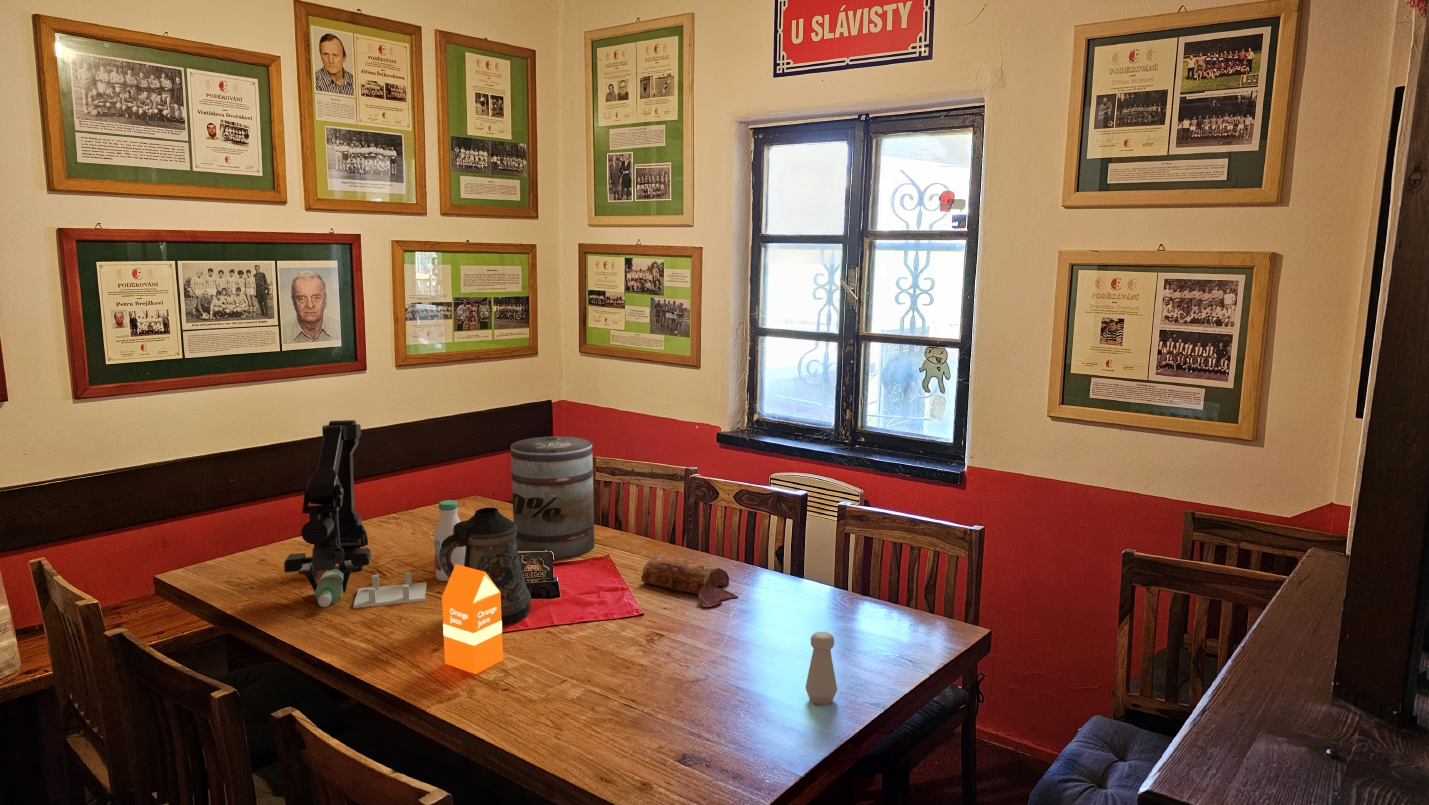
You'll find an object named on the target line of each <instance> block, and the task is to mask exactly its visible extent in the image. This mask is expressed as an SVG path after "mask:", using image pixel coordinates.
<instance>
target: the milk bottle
mask: <svg viewBox="0 0 1429 805" xmlns="http://www.w3.org/2000/svg"><path fill="white" fill-rule="evenodd" d="M458 510H459V509H458V501H457V500H452V499H448V500H442V501H439V503H438V511H439V517H438V521H437V523H436V526H435V528H434V529H435V530H434V536H433V538H434V541H433V543H434V561H435V562H434V566H435V577H436V579H437V580H438V581H441V582H448V581H449V579H450V578H449V577H448V576H447V575H446V574H445V572H444V571H443V569H442V567H441V565H440V560H439V552H440V548H441V544H442V542H443V541H444V540H445V539H446V538H447V537H448V536H451V535H453V528H454V525H456V524H457V523H459V522H462V521H461V520H460V518H459V515H458ZM465 552H466V546H464V547H456V548H455V549H454V550H453V551H452V554H451V558H450V559H451V563H452V564H453V566H454V567H455V565H456V564H457V565H461V566H464V561H465Z"/></svg>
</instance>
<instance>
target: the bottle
mask: <svg viewBox="0 0 1429 805" xmlns="http://www.w3.org/2000/svg"><path fill="white" fill-rule="evenodd" d="M343 574H344V572H341V571H339V570H336V568H335V569H334V570H331V571H328V570H325V572H324V573H323V574H322V575H321V576H320V579H319V581H318V586H317V588H316V591H315V592H314V596H315V598H316V600H317V603H318V605H319V607H322V608H326V607H329V606H330V605H332V604H335V603H336V602H338V600H339V599H340V596H341V594H342V593H343Z"/></svg>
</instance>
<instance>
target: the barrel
mask: <svg viewBox="0 0 1429 805" xmlns="http://www.w3.org/2000/svg"><path fill="white" fill-rule="evenodd" d="M593 459H594V458H593V442H592V441H591V440H589V439H587V438H582V437H576V436H574V437H573V436H541V437H540V436H539V437H531V438H524V439H522V440H521V439H520V440H518V441H515V442H512V444H510V463H511V468H510V469H511V488H512V518H513V520H512V521H513V522H514V523H515V524H516V525H517V528H518V529H517V535H516V537H515V540H516V545H517V550H518V551H545V550H547V551H552V552H553V553H554V559H555V560H554V561H561V560H563V561H564V560H568V559H573V557H574V558H578V557H582V556H584V555H586V554H588V553H590V552H591V551H592V550H593V549H594V548H595V521H594V520H595V518H594V517H595V515H594V514H595V512H594V511H595V510H594V470H593V469H594V468H593V465H594V464H593ZM581 555H582V556H581ZM577 556H578V557H577Z"/></svg>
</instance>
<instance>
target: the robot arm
mask: <svg viewBox="0 0 1429 805" xmlns="http://www.w3.org/2000/svg"><path fill="white" fill-rule="evenodd" d="M321 430H322V446H321V452H320V456H319V460H318V466H317V469H316V471H315V472H313V473H312V474H311V475H310V476H309V480H308V482H307V485H306V486H305V488H304V492H303V493H304V494H303V503H302V509H301V510H302V512H301V513H302V514H309V516H308V517H309V519H308V520H307V521H306V522H305V524H303V526H302V528H301V530H300V534H301V538H302V539H303V541H305V542H306V543H307V544H309V545H313V549H312V551H311V552H312V555H311V556H307V555H306V553H305V552H300V553H289V555H287V557H286V558H285V560H284V563H283V567H284V568H283V570H284V573H294V572H296V573H298V575H303V576H304V577H306V579H307V580H308V581H309V584H310V585H311V588H312V590H313V591H314V593H315V591H316V588H317V586H318V583H319V581H318V574H317V572H322V571H323V572H324V571H331V570H334V569H336V570H339V571H341V572H342V573H343V590H342V593H343V594H346V592H347V591H346V590H347V588H348V584H349V579H350V577H351V573H352V572H359V571H363V568H364V566H369V565H370V563H371V559H372V552H371V549H370V548H369V547H366V546H369V538H368V533H367V530H366V529H365V528H366V527H365V526H364V524H362V522H363V521H362V517H361V515H360V514H359V512H358V511H357V510H356V508H355V487H354V484H355V480H354V452H355V450H356V449H357V447H358V445H359V443H360V438H361V436H362V427H361V424H359V423H357V421H356V420H355V419H349V420H348V419H347V420H345V419H344V420H343V419H342V420H330V421H329V422H328V424H325V425H322V429H321Z"/></svg>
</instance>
